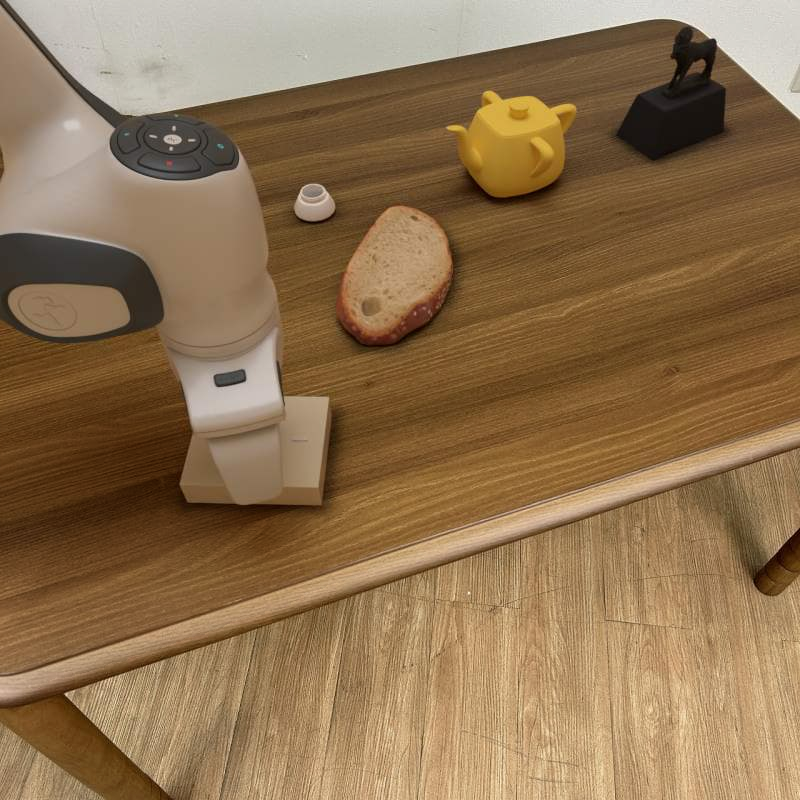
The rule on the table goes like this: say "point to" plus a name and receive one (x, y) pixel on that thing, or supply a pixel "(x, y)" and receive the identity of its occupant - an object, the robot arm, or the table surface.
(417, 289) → the slice of bread
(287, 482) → the panel
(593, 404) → the table surface
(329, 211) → the lidless jar
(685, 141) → the sculpture
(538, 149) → the teapot
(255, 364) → the robot arm
